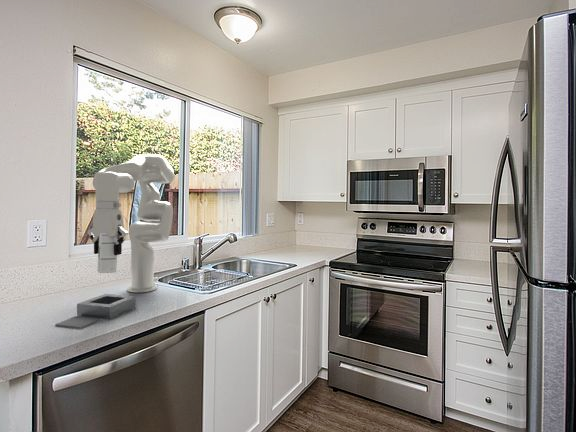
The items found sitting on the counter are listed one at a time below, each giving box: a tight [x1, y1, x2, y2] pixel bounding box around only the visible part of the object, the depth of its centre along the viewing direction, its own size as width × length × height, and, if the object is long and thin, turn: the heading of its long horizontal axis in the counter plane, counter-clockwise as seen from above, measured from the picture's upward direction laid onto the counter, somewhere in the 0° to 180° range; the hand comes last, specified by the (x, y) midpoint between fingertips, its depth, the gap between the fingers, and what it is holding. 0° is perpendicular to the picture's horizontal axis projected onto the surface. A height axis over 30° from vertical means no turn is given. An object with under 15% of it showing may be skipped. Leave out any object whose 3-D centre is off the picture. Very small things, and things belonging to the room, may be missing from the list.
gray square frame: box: [76, 293, 137, 321], centre depth 123 cm, size 14×14×4 cm
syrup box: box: [97, 233, 118, 274], centre depth 122 cm, size 6×6×14 cm
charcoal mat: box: [54, 315, 101, 330], centre depth 112 cm, size 8×10×1 cm
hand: (107, 253), depth 122 cm, fingers closed on syrup box, 7 cm apart
